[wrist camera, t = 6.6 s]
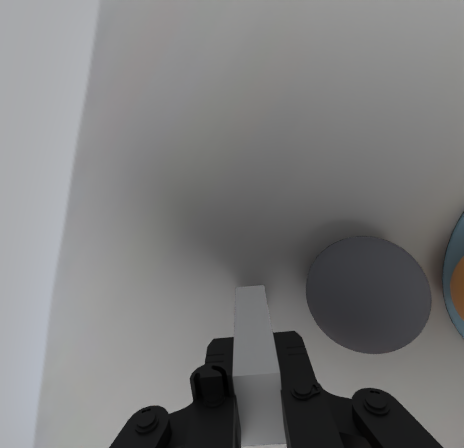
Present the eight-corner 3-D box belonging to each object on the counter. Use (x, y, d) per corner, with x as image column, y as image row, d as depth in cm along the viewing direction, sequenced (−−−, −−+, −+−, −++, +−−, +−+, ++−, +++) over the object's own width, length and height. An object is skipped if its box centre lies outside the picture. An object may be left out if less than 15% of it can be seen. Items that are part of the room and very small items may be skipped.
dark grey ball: (289, 355, 15) (332, 311, 19) (420, 400, 11) (438, 334, 15) (281, 246, 14) (328, 225, 18) (420, 258, 10) (439, 228, 15)
